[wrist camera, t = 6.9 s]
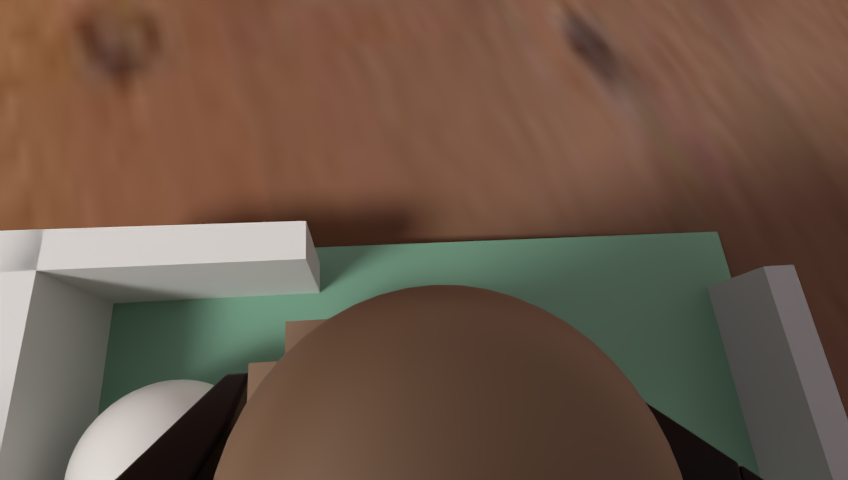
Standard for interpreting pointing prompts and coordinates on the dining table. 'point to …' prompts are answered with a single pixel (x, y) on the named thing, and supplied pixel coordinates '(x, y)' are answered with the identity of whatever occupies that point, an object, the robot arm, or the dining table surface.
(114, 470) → the ball
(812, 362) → the pitch
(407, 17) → the dining table surface
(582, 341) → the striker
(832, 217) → the dining table surface
